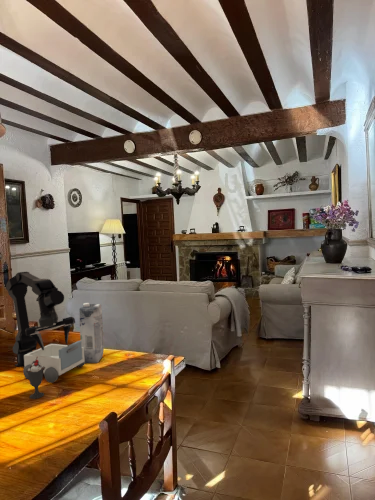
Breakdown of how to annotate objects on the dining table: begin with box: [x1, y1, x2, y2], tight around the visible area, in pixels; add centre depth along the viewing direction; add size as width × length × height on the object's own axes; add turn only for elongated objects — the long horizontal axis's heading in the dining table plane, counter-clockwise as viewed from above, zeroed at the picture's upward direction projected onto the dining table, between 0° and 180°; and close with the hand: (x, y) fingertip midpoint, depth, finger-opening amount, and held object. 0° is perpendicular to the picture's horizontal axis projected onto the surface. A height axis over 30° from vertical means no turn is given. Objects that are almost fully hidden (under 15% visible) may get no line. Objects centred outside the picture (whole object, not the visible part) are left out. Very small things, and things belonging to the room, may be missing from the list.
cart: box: [23, 343, 86, 384], centre depth 154 cm, size 18×18×10 cm
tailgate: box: [59, 340, 82, 370], centre depth 150 cm, size 2×13×8 cm, turn 159°
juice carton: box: [79, 302, 104, 364], centre depth 168 cm, size 9×10×27 cm
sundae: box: [26, 357, 45, 400], centre depth 132 cm, size 7×7×15 cm
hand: (55, 346), depth 146 cm, fingers open, 9 cm apart
